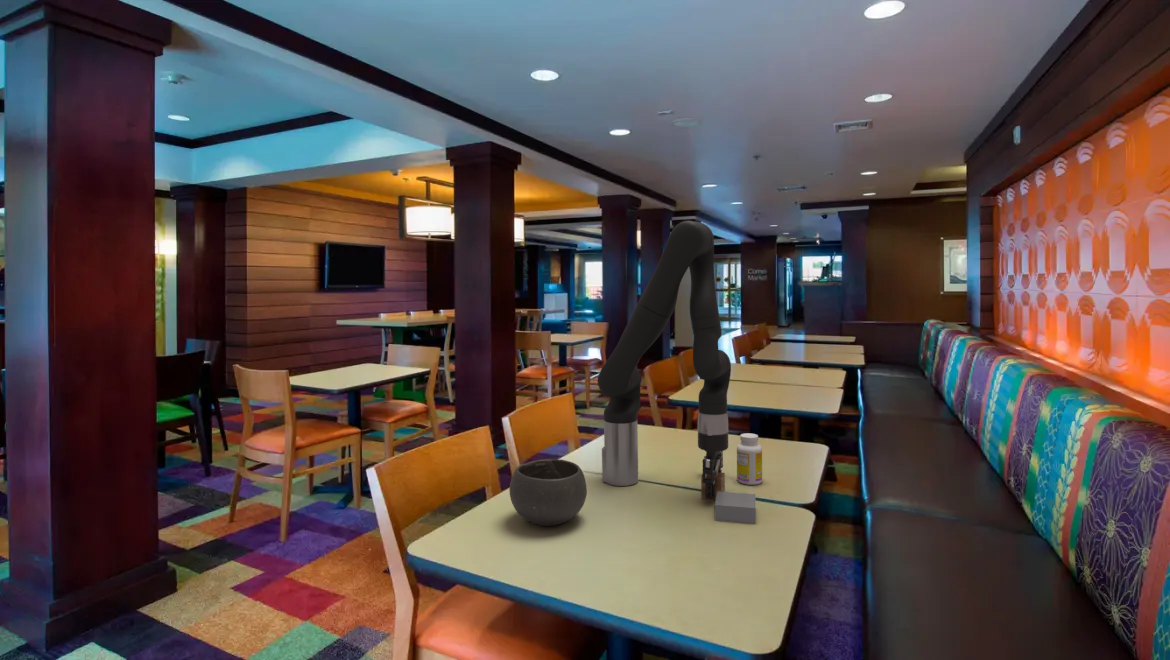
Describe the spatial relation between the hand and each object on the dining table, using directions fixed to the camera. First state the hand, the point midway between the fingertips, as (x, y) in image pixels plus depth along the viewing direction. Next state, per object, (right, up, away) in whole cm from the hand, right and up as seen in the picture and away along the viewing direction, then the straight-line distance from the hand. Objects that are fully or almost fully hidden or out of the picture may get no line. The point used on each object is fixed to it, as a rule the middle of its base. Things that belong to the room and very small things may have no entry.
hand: (713, 492), depth 151 cm
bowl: (-41, -4, -12) cm, 43 cm away
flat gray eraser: (+3, -3, -11) cm, 11 cm away
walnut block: (0, -1, 0) cm, 2 cm away
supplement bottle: (+12, 0, +11) cm, 17 cm away
